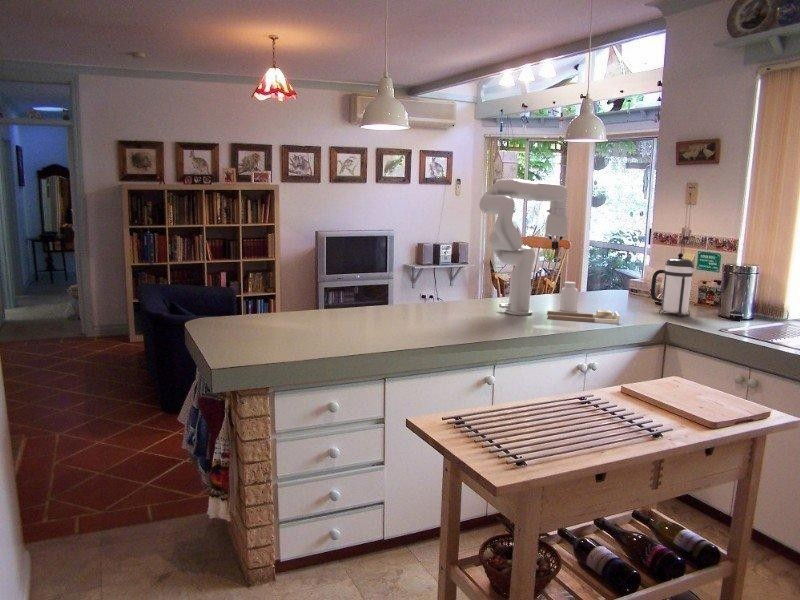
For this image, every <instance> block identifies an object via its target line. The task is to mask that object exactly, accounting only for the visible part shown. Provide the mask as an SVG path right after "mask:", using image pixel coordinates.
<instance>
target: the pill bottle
mask: <svg viewBox="0 0 800 600" xmlns="http://www.w3.org/2000/svg"><path fill="white" fill-rule="evenodd" d="M576 286H577V283H576V282H575V281H564V286H563V287H562V288H561V290H560V301H559V303H560V304H559V311H560V312H574V313H577V311H578V303H579V301H578V300H579V289H578V288H576Z"/></svg>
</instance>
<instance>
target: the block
mask: <svg viewBox="0 0 800 600" xmlns="http://www.w3.org/2000/svg"><path fill="white" fill-rule="evenodd" d="M595 314H596V318H599V319H612V315H614V312H612V310H609V309H608V310H607V309H596V313H595Z"/></svg>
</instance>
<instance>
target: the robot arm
mask: <svg viewBox="0 0 800 600" xmlns="http://www.w3.org/2000/svg"><path fill="white" fill-rule="evenodd" d="M567 198H568V187H566V186H565V185H561V184H557V183H547V182H540V181H535V180H532V181H531V180H525V179H518V178H500V179H498V180H497V181H496V182H494V183H493V184H492V185H491V186H490V187H489V188H488V189H487V190H486V192H485V193H484V194H483V195H482V196H481V198H480V200H479V204H478V205H479V210H480V211H481V212H482V213H484V214H487V215H497V217H496V220H495V223H494V226H493V227H494V230H492V231H491V232H490V234H489V237H488V242H489V243H488V244H489V246H490V248H491V250H492V251H493V253H494V254H495V256H496V257H497V258H498V260H499V261H500V262H501V263H502V264H504V265H508V266H514V267H513V269H512V271H511V273H510V279H509V280H510V282H509V295H508V302H506V303H501V302H500V303H499V304H498V308H500V309H504V312H505V313H506V314H508V315H515V316H530V315H531V316H532V314H533V311H532V310H530V302H531V300H530V299H531V290H532V289H531V288H532V287H531V286H532V271H533V268H534V267H533V266H534V263H535V260H536V253H535V251H534V249H533V248H532V247H530V246H526V245H523V243H524V239H523V238H522V236H521V234H520V233H519V231H518V230H517V227H516V226H515V224H514V222H513V215H514V211H515V201H514V199H516V200H517V199H520V200H527V201H543V202H549V208H546V212H547V213H549V214H547V217H546V222H545V233H544V237H545V238H547V239H549V240H550V241H551V249H552V250H553V251H557V249H559V242H560V241H561V240H564V239H567V238H568V215H566V211H567ZM555 236H557V238H556V239H555Z"/></svg>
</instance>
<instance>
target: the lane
mask: <svg viewBox="0 0 800 600" xmlns="http://www.w3.org/2000/svg"><path fill="white" fill-rule="evenodd" d="M546 313H547V314H546V315H547V320H557V321H558V320H559V321H563V320H564V321H574V322H586V323H587V322H588V323H600V324H601V323H603V324H615V325H616V324H617V325H620V314H619V313H618V311H617V310H614V311H613V314H612V319H599V318H596V313H588V312H587V313H586V312H585V313H584V312H566V311H560V310H559V311H557V310H547V312H546Z"/></svg>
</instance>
